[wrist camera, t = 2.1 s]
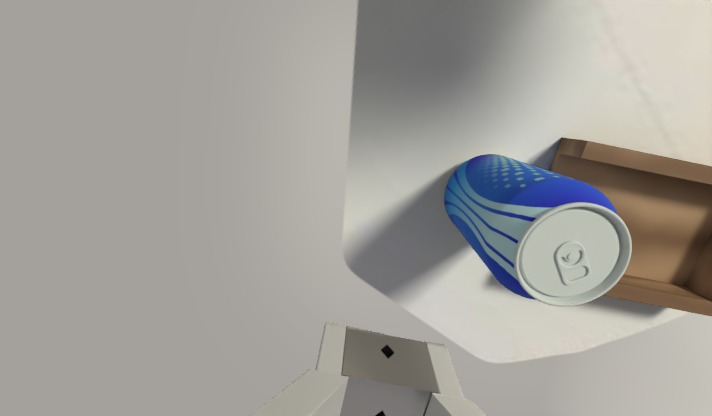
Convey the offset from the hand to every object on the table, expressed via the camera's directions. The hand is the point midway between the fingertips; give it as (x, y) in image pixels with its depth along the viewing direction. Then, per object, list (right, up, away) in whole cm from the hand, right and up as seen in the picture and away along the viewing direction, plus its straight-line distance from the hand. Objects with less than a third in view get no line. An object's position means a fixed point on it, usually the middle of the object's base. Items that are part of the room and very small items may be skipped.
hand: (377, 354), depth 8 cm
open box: (+27, +2, +27) cm, 38 cm away
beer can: (+13, +5, +26) cm, 30 cm away
